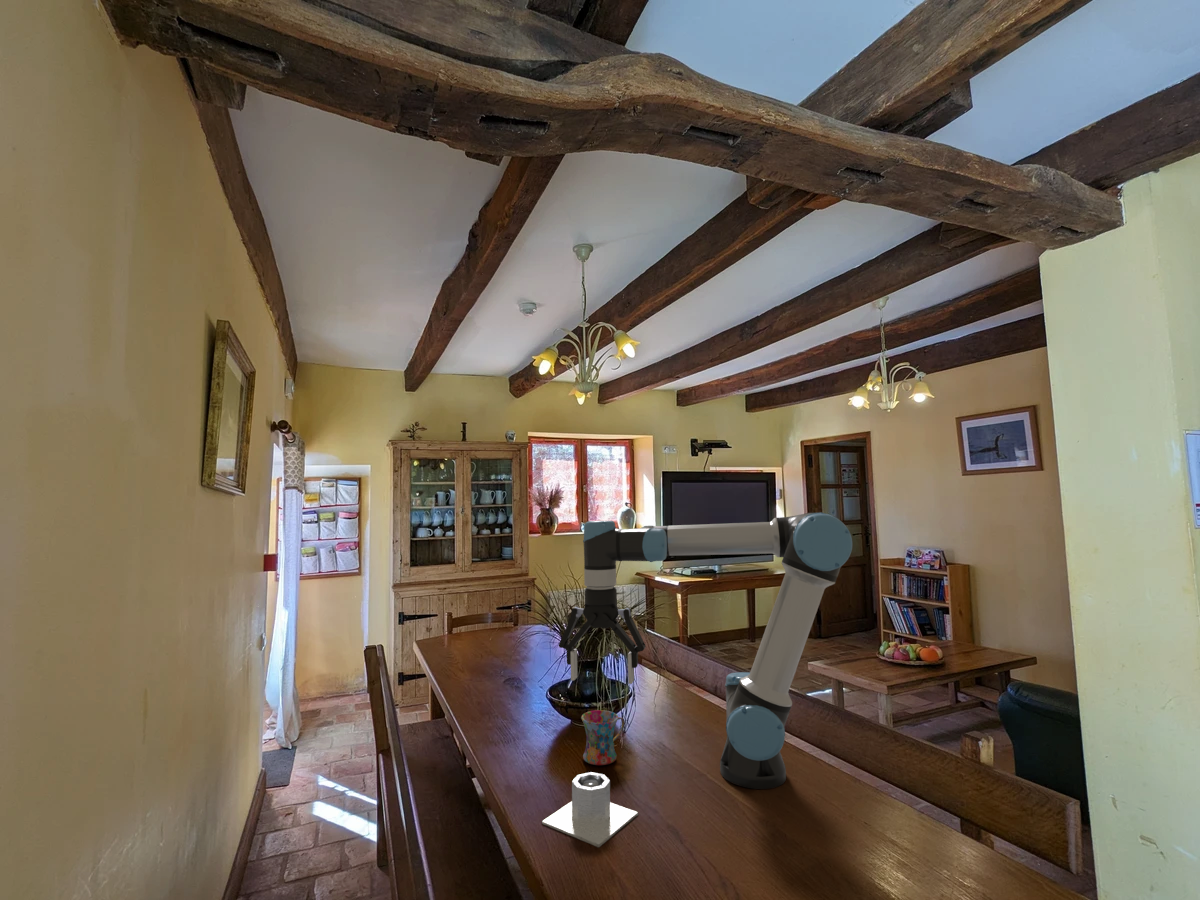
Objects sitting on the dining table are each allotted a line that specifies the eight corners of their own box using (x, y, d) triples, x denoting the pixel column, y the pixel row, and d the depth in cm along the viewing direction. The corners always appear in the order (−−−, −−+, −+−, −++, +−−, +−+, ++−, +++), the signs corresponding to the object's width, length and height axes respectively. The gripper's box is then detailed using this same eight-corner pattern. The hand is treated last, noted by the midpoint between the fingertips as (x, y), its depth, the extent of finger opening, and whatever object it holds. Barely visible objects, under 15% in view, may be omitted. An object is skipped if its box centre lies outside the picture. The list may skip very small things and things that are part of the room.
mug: (593, 772, 139) (593, 726, 140) (574, 757, 147) (574, 714, 148) (634, 760, 146) (634, 716, 146) (614, 747, 153) (614, 705, 154)
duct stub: (637, 814, 120) (637, 779, 121) (598, 847, 109) (598, 808, 109) (583, 795, 128) (583, 762, 129) (542, 823, 117) (542, 787, 117)
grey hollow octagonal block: (599, 804, 123) (599, 770, 124) (614, 821, 117) (614, 785, 117) (568, 812, 120) (568, 776, 121) (581, 829, 114) (581, 792, 114)
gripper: (655, 585, 137) (658, 678, 135) (555, 584, 143) (556, 673, 141) (650, 590, 129) (653, 688, 127) (544, 588, 135) (545, 682, 133)
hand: (602, 680), depth 134 cm, fingers open, 13 cm apart
